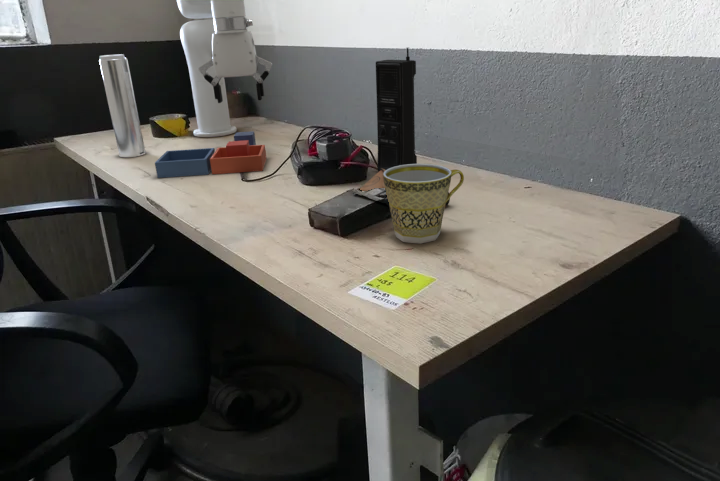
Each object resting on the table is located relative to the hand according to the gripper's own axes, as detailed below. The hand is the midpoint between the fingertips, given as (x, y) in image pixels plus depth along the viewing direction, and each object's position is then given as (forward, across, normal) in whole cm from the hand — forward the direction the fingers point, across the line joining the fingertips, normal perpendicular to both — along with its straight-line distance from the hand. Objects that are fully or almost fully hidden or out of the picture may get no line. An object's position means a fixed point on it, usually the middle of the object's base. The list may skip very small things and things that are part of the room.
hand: (240, 100), depth 139 cm
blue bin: (+13, +12, +12) cm, 22 cm away
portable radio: (+14, -34, +25) cm, 45 cm away
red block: (+13, 0, +12) cm, 18 cm away
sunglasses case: (+14, -32, +45) cm, 57 cm away
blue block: (+13, 0, -1) cm, 13 cm away
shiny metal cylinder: (+13, +31, -8) cm, 34 cm away
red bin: (+13, 0, +12) cm, 18 cm away
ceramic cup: (+14, -34, +62) cm, 73 cm away
